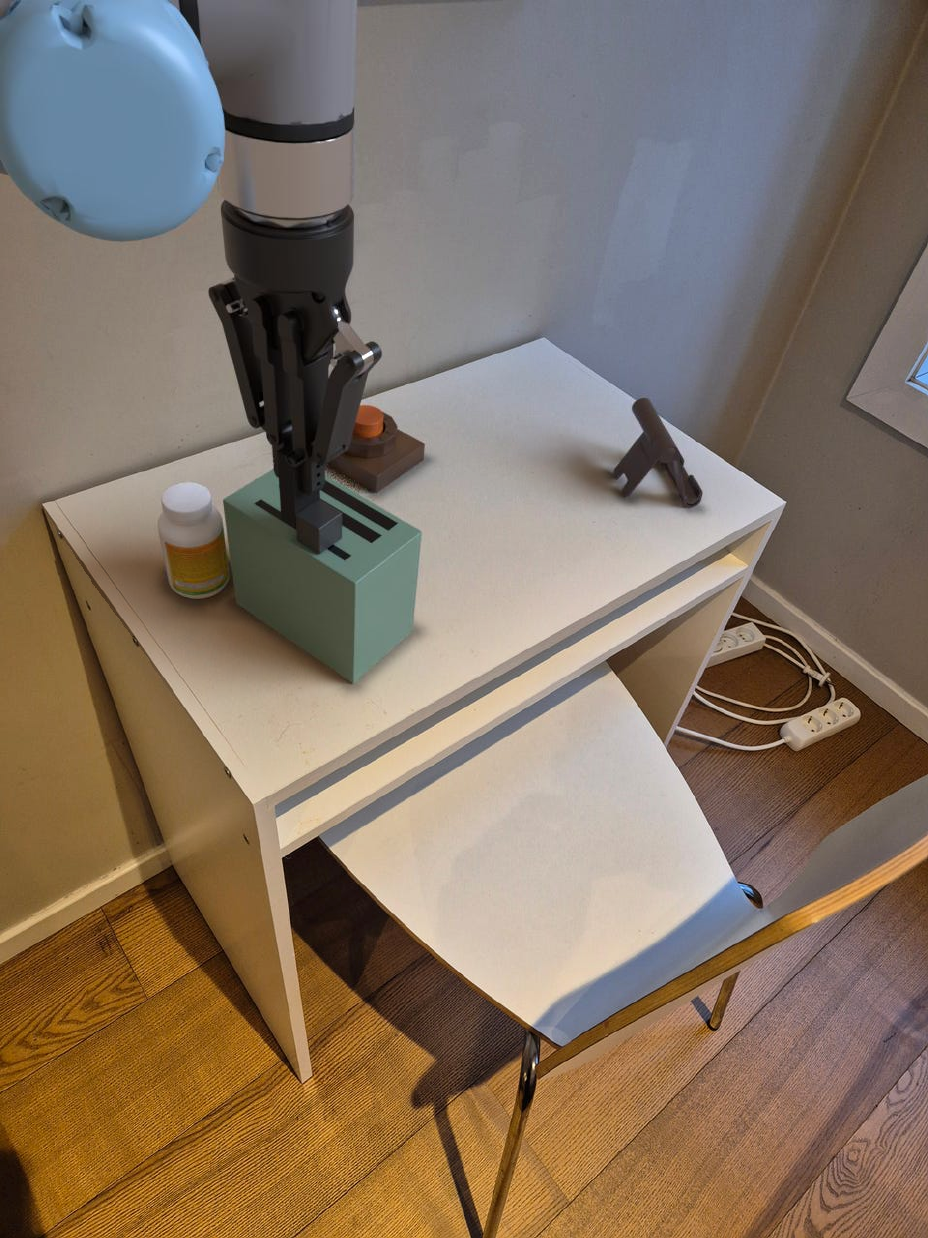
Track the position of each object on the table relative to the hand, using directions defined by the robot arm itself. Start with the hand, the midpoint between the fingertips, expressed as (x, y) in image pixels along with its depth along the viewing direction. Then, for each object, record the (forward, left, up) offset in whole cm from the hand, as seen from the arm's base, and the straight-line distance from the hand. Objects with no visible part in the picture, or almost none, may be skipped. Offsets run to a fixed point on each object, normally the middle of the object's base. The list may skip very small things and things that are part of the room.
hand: (300, 516), depth 66 cm
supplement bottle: (-11, -2, -13) cm, 18 cm away
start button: (-13, +23, -10) cm, 28 cm away
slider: (+2, 0, -1) cm, 2 cm away
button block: (-13, +23, -13) cm, 29 cm away
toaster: (0, +2, -13) cm, 13 cm away
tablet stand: (+13, +41, -14) cm, 45 cm away
